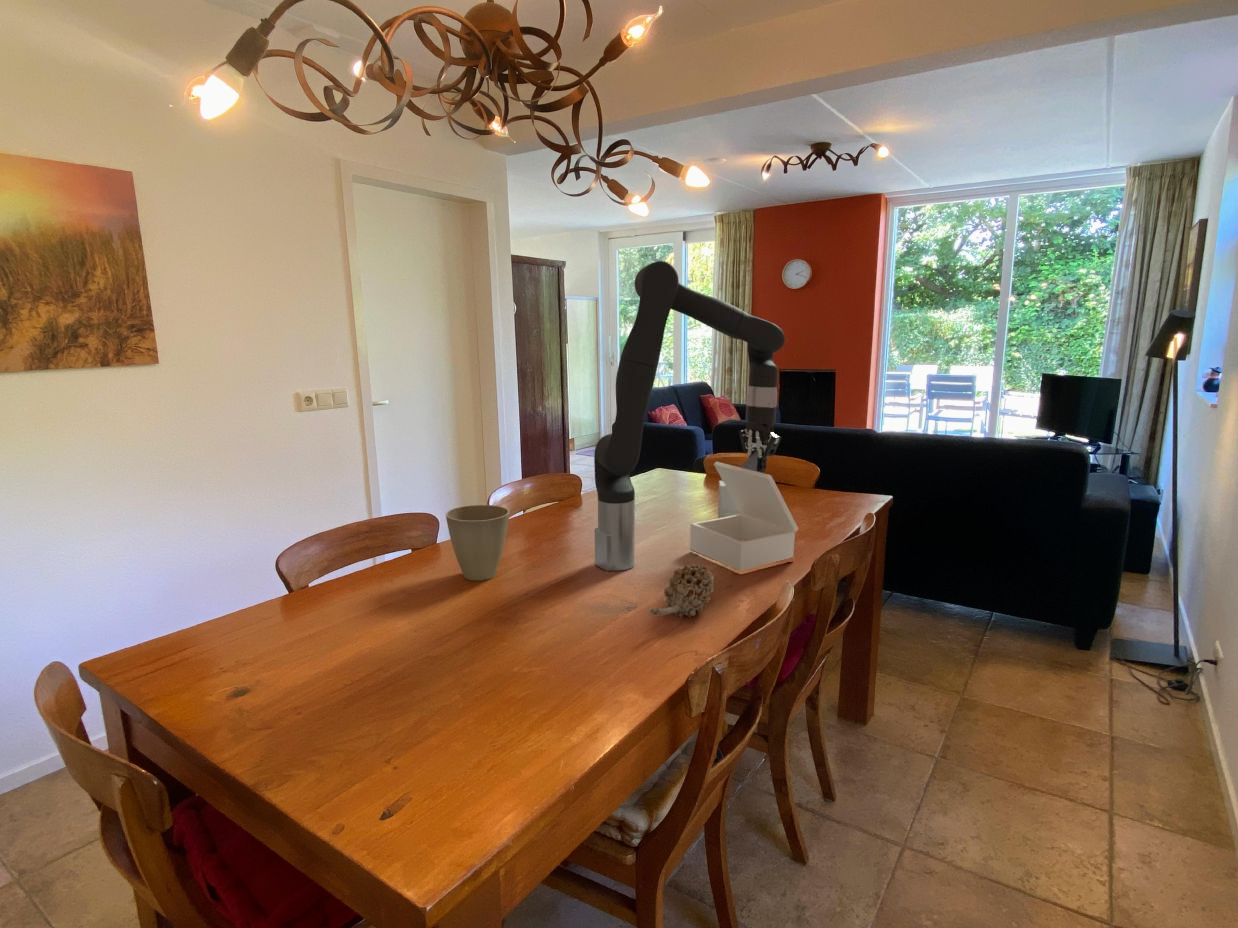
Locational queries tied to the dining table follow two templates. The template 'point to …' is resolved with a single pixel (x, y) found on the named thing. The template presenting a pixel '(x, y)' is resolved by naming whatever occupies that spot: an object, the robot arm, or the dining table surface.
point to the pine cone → (687, 591)
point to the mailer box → (725, 546)
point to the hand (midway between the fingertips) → (756, 470)
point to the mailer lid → (756, 493)
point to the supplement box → (726, 502)
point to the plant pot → (478, 538)
